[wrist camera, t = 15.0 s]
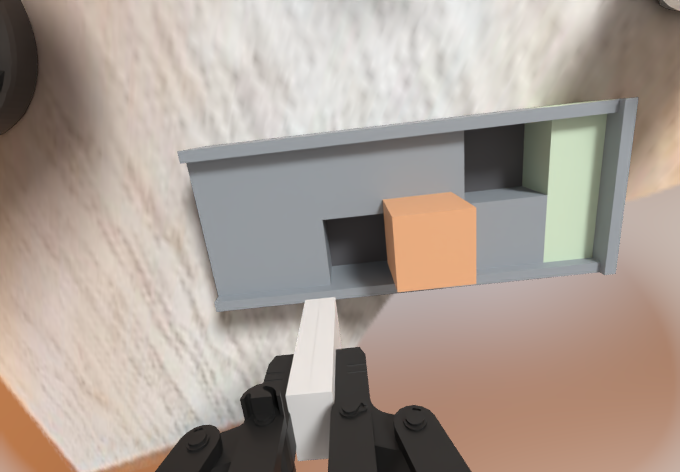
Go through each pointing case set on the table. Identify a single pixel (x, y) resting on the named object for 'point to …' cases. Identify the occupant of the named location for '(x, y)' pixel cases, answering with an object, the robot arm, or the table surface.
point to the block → (430, 241)
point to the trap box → (413, 180)
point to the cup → (670, 4)
